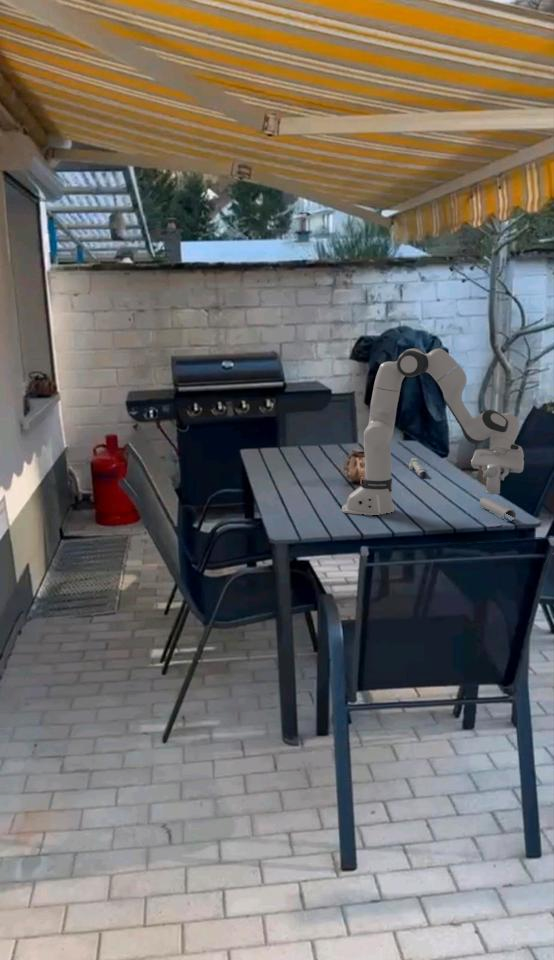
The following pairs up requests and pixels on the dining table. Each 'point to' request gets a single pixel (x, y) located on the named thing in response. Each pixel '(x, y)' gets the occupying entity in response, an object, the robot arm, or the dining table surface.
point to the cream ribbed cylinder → (417, 468)
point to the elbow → (493, 479)
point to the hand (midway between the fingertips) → (493, 478)
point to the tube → (496, 507)
